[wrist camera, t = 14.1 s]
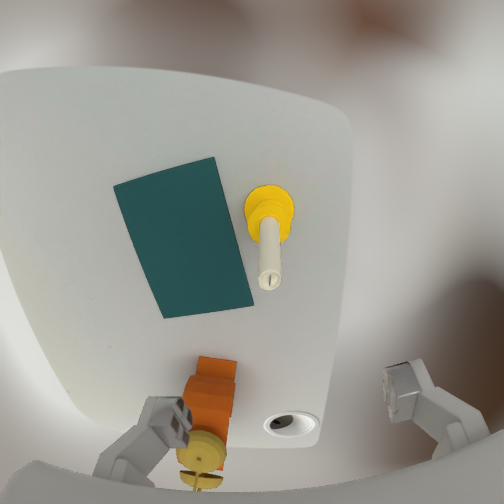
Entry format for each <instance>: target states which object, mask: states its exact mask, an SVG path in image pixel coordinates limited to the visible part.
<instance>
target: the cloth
mask: <svg viewBox="0 0 504 504" xmlns="http://www.w3.org/2000/svg"><path fill="white" fill-rule="evenodd" d="M113 188H114V191H115V194H116V197H117V200H118V203H119V206H120V209H121V212H122V215H123V218H124V221H125V223H126V226H127V229H128V232H129V234H130V237H131V240H132V242H133V245H134V248H135V250H136V253H137V255H138V258H139V260H140V263H141V266H142V268H143V270H144V273H145V275H146V278H147V280H148V283H149V285H150V287H151V290H152V292H153V294H154V297H155V299H156V301H157V304H158V306H159V308H160V310H161V313H162V315H163V317H164V319H165V318H173V317H180V316H188V315H195V314H202V313H209V312H216V311H223V310H229V309H236V308H242V307H248V306H254V303H253V299H252V295H251V292H250V288H249V285H248V281H247V277H246V274H245V270H244V266H243V263H242V259H241V255H240V252H239V248H238V244H237V241H236V237H235V233H234V230H233V226H232V222H231V219H230V215H229V211H228V207H227V204H226V200H225V196H224V192H223V189H222V185H221V181H220V177H219V174H218V170H217V166H216V162H215V159H214V157H211V158H207V159H204V160H200V161H196V162H192V163H188V164H185V165H181V166H178V167H174V168H171V169H167V170H164V171H160V172H157V173H154V174H150V175H147V176H144V177H141V178H137V179H134V180H131V181H128V182H125V183H122V184H119V185H116V186H114V187H113Z"/></svg>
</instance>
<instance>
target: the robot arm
mask: <svg viewBox="0 0 504 504" xmlns="http://www.w3.org/2000/svg"><path fill="white" fill-rule="evenodd" d="M383 375H384V378H385V379H384V380H383V395H384V399H385V403H387V404H388V405H389V408H388V413H389V416H390V419H391V423H392V424H395V423H399V422H403V421H407V420H410V419H412V421H413V422H415V423H416V424H417V425H418V426H419V427H421V428H422V429H423V430H424V431H425V432H427V433H428V434H429V435H430V436H431V437H433V438H434V439H435V440H436V441H437V442H439V443H438V445H437V447H436V449H435V452H434V453H433V455H432V460H429V461H426V462H423V463H420V464H417V465H413V466H410V467H407V468H403V469H400V470H396V471H393V472H389V473H385V474H381V475H377V476H373V477H368V478H364V479H359V480H354V481H349V482H344V483H338V484H332V485H326V486H319V487H311V488H303V489H294V490H282V491H268V492H241V493H240V492H238V493H237V492H234V493H233V492H231V493H230V492H229V493H228V492H198V491H197V492H196V491H182V490H171V489H163V488H154V487H155V485H154V483H153V482H152V481H151V480H149V479H148V478H147V477H146V476H147V475H148V474H149V473H150V472H151V471H152V470H153V468H154V467H155V466H156V465H157V464H158V462H159V461H160V460H161V459H162V458H163V457H164V455H165V454H166V453H167V452H168V451H169V448H188V444H189V439H190V435H189V433H188V431H189V430H190V429H191V428H192V424H193V415H192V412H191V410H190V408H189V407H187V406H185V405H184V404H185V401H184V399H183V398H182V397H148V398H147V399H146V401H145V404H144V407H143V410H142V413H141V415H140V418H139V421H138V424H137V425H134V426H133V427H132V428H131V429H129V430H128V431H127V432H126V433H125V434H124V435H123V436H121V437H120V438H119V439H118V440H117V441H115V442H114V443H113V444H112V445H111V446H110V447H108V448H107V449H106V450H105V451H104V452H102V453H101V455H100V457H99V459H98V461H97V464H96V467H95V470H94V472H93V475H92V476H90V475H86V474H82V473H78V472H74V471H71V470H67V469H64V468H60V467H57V466H53V465H51V464H48V463H45V462H41V461H37V460H35V461H32V462H30V463H28V464H27V465H26V466H24V467H22V468H21V469H19V470H18V471H16V472H15V473H14V474H13V475H12V476H11V477H10V479H9V480H8V482H7V483H6V485H5V487H4V489H3V491H2V493H1V495H0V504H504V429H502V430H500V431H498V432H496V433H494V434H492V435H491V434H490V432H489V430H488V428H487V426H486V423H485V421H484V419H483V417H482V415H481V412H480V411H479V410H477V409H475V408H473V407H472V406H470V405H468V404H466V403H465V402H463V401H462V400H459V399H458V398H456V397H454V396H453V395H451V394H449V393H448V392H446V391H445V390H443V389H441V388H439V387H434V385H433V383H432V381H431V378H430V376H429V374H428V372H427V370H426V368H425V366H424V363H423V362H422V360H421V359H420V358H419V359H415V360H412V361H409V362H404V363H400V364H397V365H393V366H389V367H386V368H384V372H383Z"/></svg>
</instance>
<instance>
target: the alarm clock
mask: <svg viewBox="0 0 504 504" xmlns="http://www.w3.org/2000/svg"><path fill="white" fill-rule="evenodd" d="M236 363H237V362H236V361H228V360H221V359H214V358H207V357H201V356H199V360H198V365H197V371H196V374H195V375H192V376H190V378H189V380H188V382H187V384H186V387H185V390H184V393H183V397H182V398H183V399H184V401H185V404H184V405H185V406H187V407H189V408H190V410H191V412H192V415H193V424H192V428H191V429H190V430H189V431H188V433H189V435H190V439H189V444H188V448H176V455H177V459H178V462H179V463H181V464H183V465H184V466H185V467H186V468H188V469H190V470H192V471H180V477H181V479H182V481H183V482H184V483H186V484H188V485H189V486H192V487H194V489H193V491H196V488H198V490H197V491H198V492H200V491H201V489H212V488H217V487H218V486H219V485H220V484H221V483H222V481H223V477H221V476H217V475H213V474H208V472H212V471H215V470H221V471H223V465H224V461H225V458H226V455H227V452H226V442H227V434H228V426H229V418H230V417H231V414H232V406H233V398H234V390H235V383H234V379H235V371H236ZM194 471H195V472H194Z"/></svg>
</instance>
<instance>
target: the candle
mask: <svg viewBox="0 0 504 504" xmlns="http://www.w3.org/2000/svg"><path fill="white" fill-rule="evenodd" d="M244 214H245V217H246V220H247V221H248V231H249V234H250V236H251V237H252V239H253V240H254V241H255V242H257V243H258V244H259V256H258V284H259V286H260V288H262V289H263V290H266V291H271V290H274V289H276V288H277V287H278V286H279V285H280V283H281V273H282V263H281V247H280V243H282V242H283V241H284V240H285V239H286V238H287V237H288V235H289V233H290V230H291V220H292V219H293V215H294V204H293V201H292V198H291V197H290V195H289V194H288V193H287V192H286V191H285V190H284V189H282V188H280V187H278V186H274V185H264V186H260V187H258V188H256V189H255V190H253V191H252V192H251V193H250V194H249V195H248V197H247V199H246V201H245V206H244Z"/></svg>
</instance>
